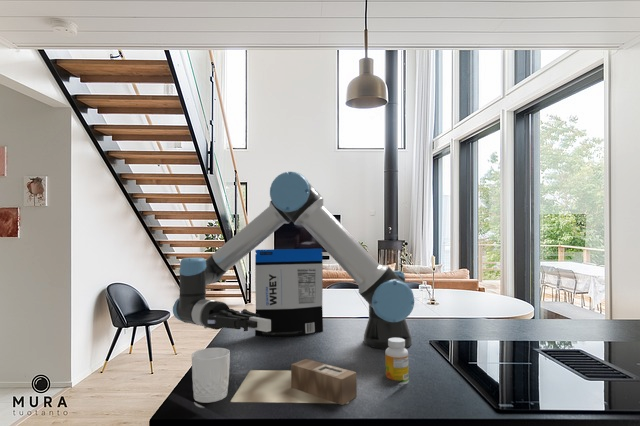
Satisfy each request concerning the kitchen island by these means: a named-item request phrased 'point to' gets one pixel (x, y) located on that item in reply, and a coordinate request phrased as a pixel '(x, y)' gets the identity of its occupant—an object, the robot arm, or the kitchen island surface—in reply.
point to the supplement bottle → (397, 360)
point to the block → (324, 381)
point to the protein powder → (289, 291)
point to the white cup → (210, 374)
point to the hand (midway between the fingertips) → (268, 325)
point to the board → (272, 389)
